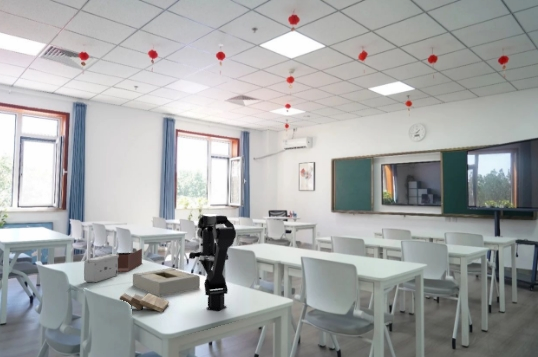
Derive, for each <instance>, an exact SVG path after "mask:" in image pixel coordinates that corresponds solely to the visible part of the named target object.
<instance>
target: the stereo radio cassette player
mask: <svg viewBox="0 0 538 357" xmlns="http://www.w3.org/2000/svg"><path fill="white" fill-rule="evenodd" d="M95 249H96V250H99V251H100V252H102V253H104V255H100V256H95V257H91V258H86V259H85V260H84V261H83V263H84V264H83V281H85V282H86V283H97V282H100V281H104V280H106V279H111V278H113V277H117V276H118V273H119V272H118V258H119V255H116V254H117V253H115V254H111V253H107V252H106V251H104V250H102V249H100V248H97V247H95Z"/></svg>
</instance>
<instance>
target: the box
mask: <svg viewBox="0 0 538 357" xmlns="http://www.w3.org/2000/svg"><path fill="white" fill-rule="evenodd" d="M200 278H201V277H200V275H198V274H194V273H190V272H185V271H182V270H178V269H176V268H173V267H167V268H162V269H156V270H151V271H150V270H149V271H143V272H135V273H133V274H132V286H133V287H136V288H138V289H141V290H143V291H146V292H147V293H150V294H152V295H155V296H157V297H163V296H168V295H173V294H177V293H184V292H189V291H192V290H196V289H197V290H198V289H200V284H201V283H200V282H201V281H200V280H201V279H200Z"/></svg>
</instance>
